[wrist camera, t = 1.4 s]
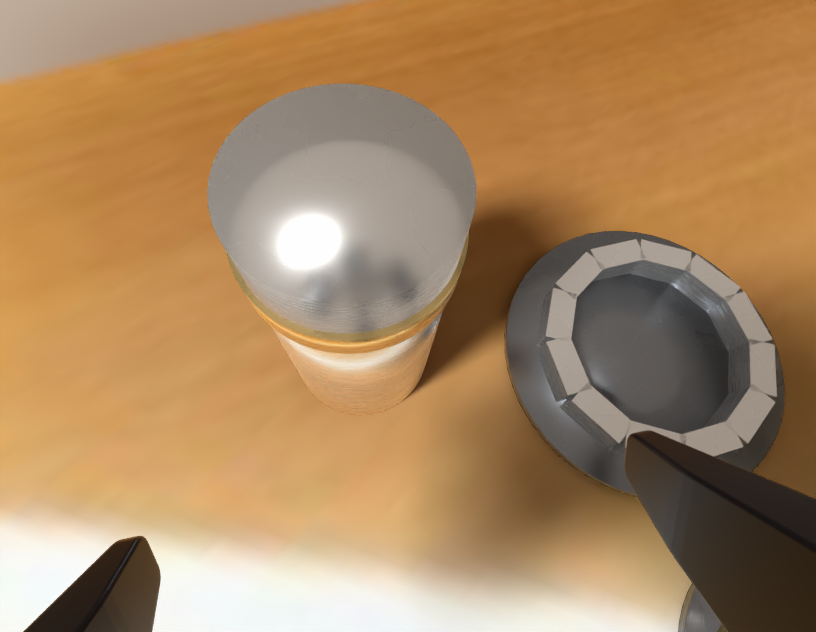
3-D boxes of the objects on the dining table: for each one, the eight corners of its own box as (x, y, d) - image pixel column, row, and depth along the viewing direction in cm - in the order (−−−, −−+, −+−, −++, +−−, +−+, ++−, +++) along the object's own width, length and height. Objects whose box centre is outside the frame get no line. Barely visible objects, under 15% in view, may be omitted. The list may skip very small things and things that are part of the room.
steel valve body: (457, 351, 24) (538, 188, 12) (359, 448, 22) (333, 372, 10) (365, 265, 25) (352, 43, 13) (265, 348, 23) (142, 175, 11)
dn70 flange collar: (823, 355, 25) (859, 343, 23) (683, 572, 20) (714, 578, 18) (607, 193, 28) (623, 171, 26) (447, 351, 24) (453, 337, 22)
